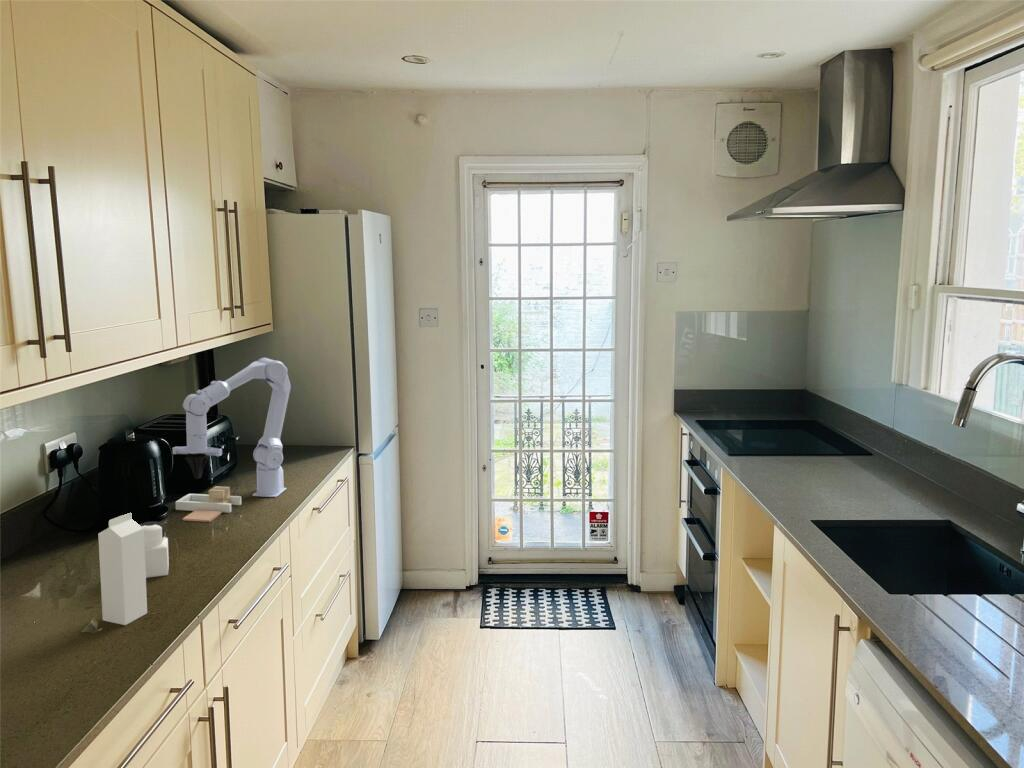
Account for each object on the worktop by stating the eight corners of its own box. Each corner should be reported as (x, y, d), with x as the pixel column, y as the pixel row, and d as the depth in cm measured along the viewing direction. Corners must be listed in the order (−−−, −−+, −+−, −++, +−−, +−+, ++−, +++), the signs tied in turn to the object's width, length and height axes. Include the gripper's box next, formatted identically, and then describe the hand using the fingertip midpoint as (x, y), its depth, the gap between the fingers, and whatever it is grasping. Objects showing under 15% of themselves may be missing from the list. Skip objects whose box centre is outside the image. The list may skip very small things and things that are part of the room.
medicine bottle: (136, 568, 182) (134, 520, 180) (168, 564, 185) (167, 517, 183) (134, 579, 175) (132, 530, 174) (168, 575, 178) (166, 527, 176)
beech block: (215, 505, 231) (215, 486, 230) (230, 505, 231) (229, 486, 230) (209, 509, 227) (208, 490, 226) (223, 510, 226) (223, 491, 226)
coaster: (196, 511, 224) (195, 509, 224) (222, 513, 224) (221, 511, 224) (182, 520, 216) (182, 518, 216) (209, 521, 216) (209, 519, 216)
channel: (189, 501, 234) (189, 493, 233) (241, 504, 233) (241, 496, 232) (175, 509, 225) (175, 501, 225) (229, 512, 224) (229, 504, 224)
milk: (102, 620, 155) (96, 518, 152) (125, 608, 161) (120, 509, 157) (125, 625, 153) (119, 522, 150) (148, 613, 159) (143, 513, 156)
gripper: (166, 435, 222) (168, 480, 224) (214, 438, 221) (215, 482, 223) (178, 430, 229) (180, 473, 231) (224, 433, 228) (225, 476, 230)
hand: (198, 477), depth 228 cm, fingers closed
